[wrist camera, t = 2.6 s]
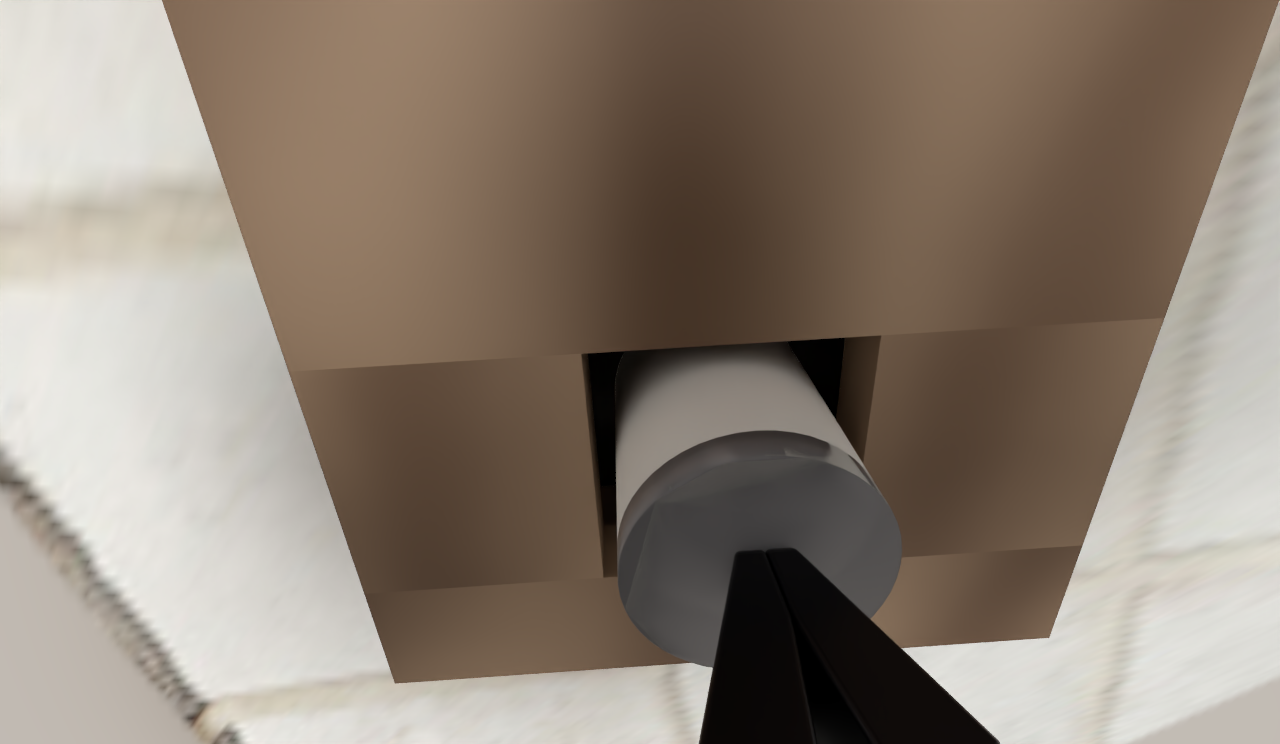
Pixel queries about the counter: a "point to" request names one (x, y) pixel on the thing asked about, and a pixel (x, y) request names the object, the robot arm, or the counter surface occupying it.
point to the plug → (735, 487)
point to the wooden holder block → (710, 269)
